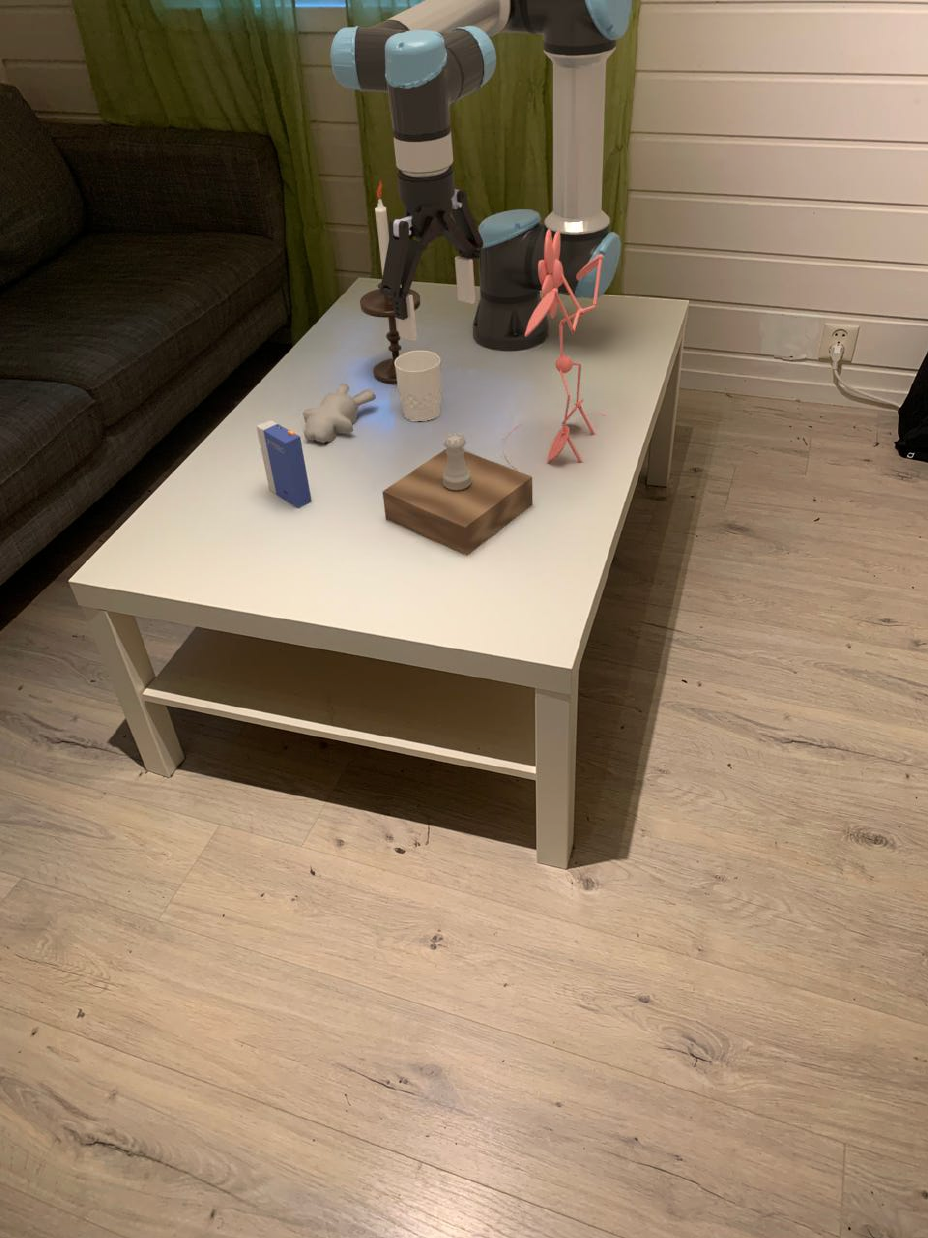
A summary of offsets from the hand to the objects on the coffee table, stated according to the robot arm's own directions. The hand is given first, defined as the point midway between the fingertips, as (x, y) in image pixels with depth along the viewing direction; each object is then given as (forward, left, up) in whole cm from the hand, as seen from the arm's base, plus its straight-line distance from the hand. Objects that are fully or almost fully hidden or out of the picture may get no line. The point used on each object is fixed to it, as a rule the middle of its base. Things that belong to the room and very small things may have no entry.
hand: (438, 319), depth 146 cm
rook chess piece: (+8, +9, -21) cm, 24 cm away
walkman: (+20, -16, -26) cm, 37 cm away
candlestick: (-21, -30, -26) cm, 45 cm away
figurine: (-16, +8, -26) cm, 31 cm away
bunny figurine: (0, -25, -26) cm, 36 cm away
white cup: (-12, -16, -26) cm, 33 cm away
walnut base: (+8, +9, -26) cm, 28 cm away
